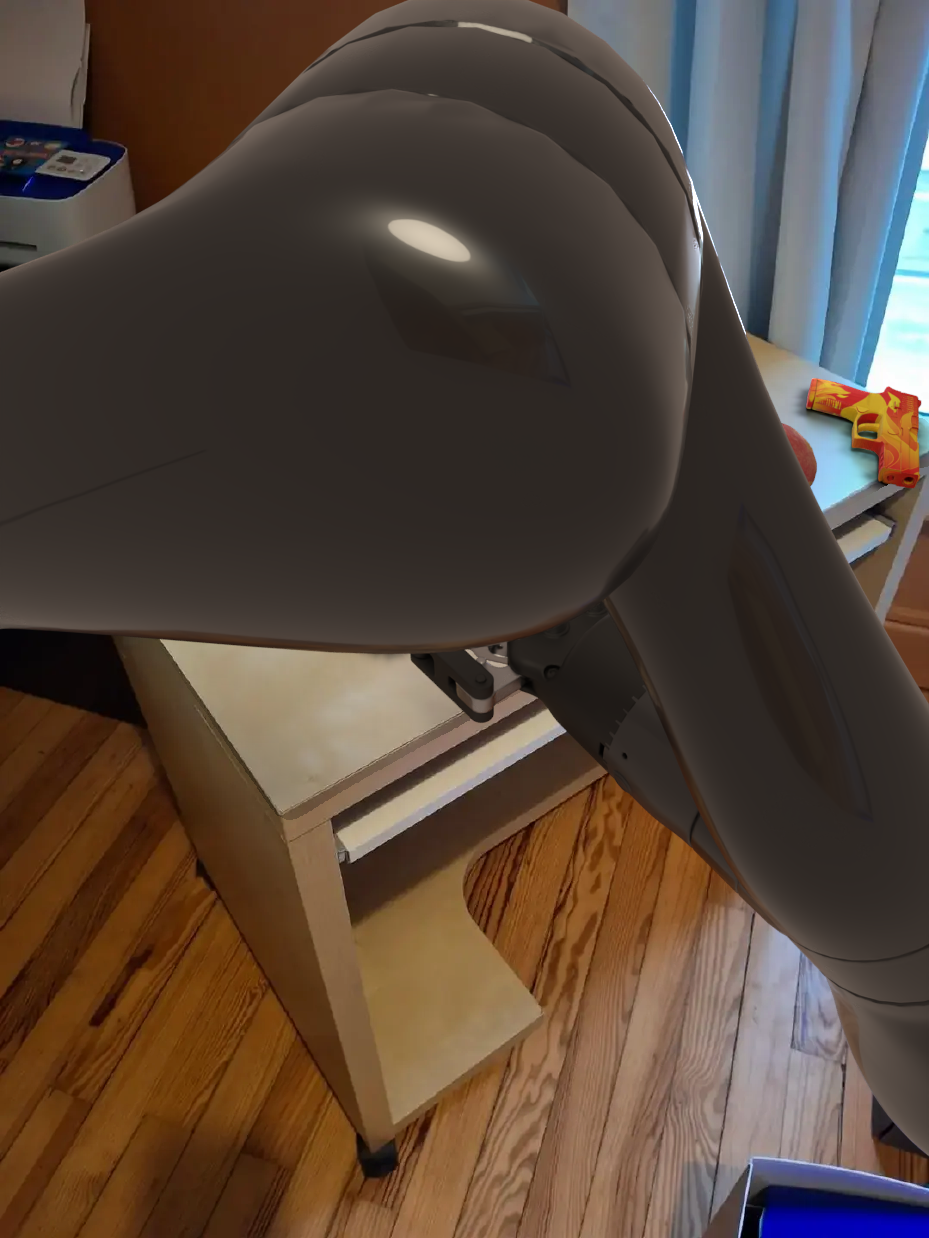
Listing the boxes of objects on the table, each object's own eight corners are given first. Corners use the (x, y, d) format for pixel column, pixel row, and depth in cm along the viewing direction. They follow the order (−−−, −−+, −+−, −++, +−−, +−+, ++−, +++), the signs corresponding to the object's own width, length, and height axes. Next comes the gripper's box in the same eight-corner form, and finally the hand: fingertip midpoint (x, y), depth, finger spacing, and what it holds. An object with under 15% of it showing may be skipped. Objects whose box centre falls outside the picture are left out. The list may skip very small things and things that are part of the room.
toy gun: (801, 453, 81) (925, 471, 79) (813, 371, 91) (923, 384, 88) (796, 475, 83) (916, 493, 80) (808, 391, 92) (915, 405, 90)
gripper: (799, 599, 43) (572, 439, 52) (556, 744, 37) (352, 534, 47) (765, 705, 48) (565, 542, 58) (548, 846, 42) (366, 639, 52)
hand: (470, 539), depth 52 cm, fingers open, 8 cm apart
